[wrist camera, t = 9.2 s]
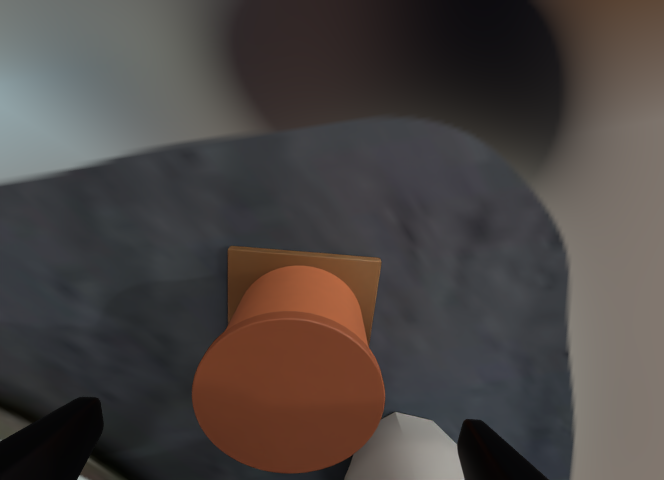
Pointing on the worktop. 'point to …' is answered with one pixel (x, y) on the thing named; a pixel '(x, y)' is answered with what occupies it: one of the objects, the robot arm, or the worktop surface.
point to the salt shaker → (406, 452)
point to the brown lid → (291, 375)
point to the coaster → (259, 261)
